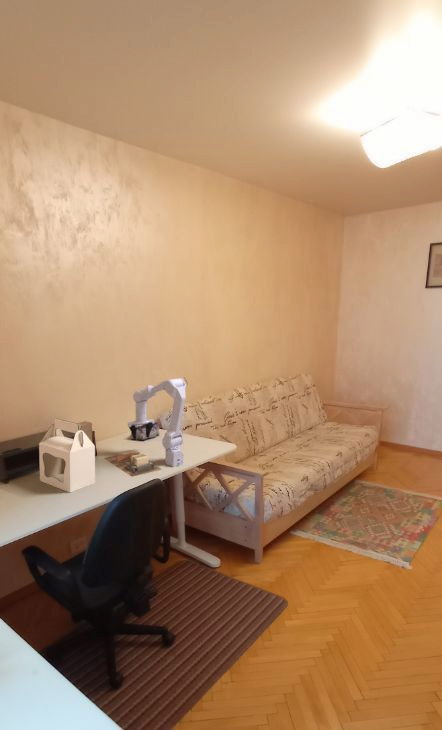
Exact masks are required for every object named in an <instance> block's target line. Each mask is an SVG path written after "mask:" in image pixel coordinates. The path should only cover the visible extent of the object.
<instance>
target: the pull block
mask: <svg viewBox="0 0 442 730" xmlns="http://www.w3.org/2000/svg"><path fill="white" fill-rule="evenodd" d="M130 453H131V454H127V453H125V454H126V455H122V454H120V455H121V456H116V455H115V456H116V460H117V461H122V460H127V459H131V464H132V465H134V466H136V467H140V466H145V465H148V461H149V456H148V455H146V454H144V453H140V452H139V451H136V452H130Z"/></svg>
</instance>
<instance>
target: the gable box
mask: <svg viewBox="0 0 442 730" xmlns="http://www.w3.org/2000/svg"><path fill="white" fill-rule="evenodd" d="M78 423H79V422H72V421H69V420H64V419H61V418H55V419H54V423H53V424H52V423H51V424H50V427H48V430H47V431H46V432H45V434H44V436H43V437H42V439H41V440H40V441H39V443H38V451H39V452H38V454H39V460H38V461H39V482H42V483H45V484H46V485H49V486H51V487H55V488H57V489H59V490H63V491H65V492H67V493H73V492H75V491H79V490H81V489H84V488H87V487H89V486H91V485H94V484H96V446H95V444H94V443H93V441H92V442H91V440H90V439H89V438H88V437H87V435H86V434H85V433H84V432H83V431H82V430H80V429H81V425H78ZM63 431H65V432H67V433H68V432H72V433H75V436H73V438H71V437H67V436H64V434H63Z"/></svg>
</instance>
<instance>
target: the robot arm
mask: <svg viewBox="0 0 442 730" xmlns="http://www.w3.org/2000/svg"><path fill="white" fill-rule="evenodd" d="M186 389H187V383H186V381H185V379H183V378H181V377H178V378H173V379H171V378H170V379H166V380H163V381H162V382H160V383H157V384H156V385H154V386H153V385H149V384H148V385H147V386H146V387H145V388H141V389H140V391H139V390H138V391H134V393H133V395H132V398H133V401H134V402H135V420H134V421H130V422H127V427H128V428H129V430H130V433H131V432H132V436H133V439H132V440H134V441H135V440H136V431H137V428H136V426H142V425H144V424H145V427H146V437H149V435H150V431H151V429H152V427H153V423H155V420H154V419H152V418H151V419H150V418H149V419H147V417H148V416H147V414H148V413H147V404H148V401H149V399H151V398H154V397H155V396H157V393H159V392H162V391H165V392H166V393H167V395H169V396H170V397H171V398H172V400H173V405H172V410H171V416H170V422H169V426H168V429H167V431H166V432H165V433H164V436H163V438H162V439H161V444H162V446H163V448H164V449H165V453H164V456H165V459H164V460H165V461H164V462H165V465H167V466H170V467H171V468H175V467H180V466H184V453H183V451H182V450H181V445H182V444H183V443H184V438H183V437H184V436H183V435H184V433H183V432H182V431H181V426H182V420H183V416H184V409H185V404H186V399H187V397H186V396H187V395H186Z"/></svg>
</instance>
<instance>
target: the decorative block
mask: <svg viewBox="0 0 442 730" xmlns="http://www.w3.org/2000/svg"><path fill="white" fill-rule="evenodd" d="M77 423H78V425H81V429H80V430H82V431H83V432H84V433H85V434H86V435H87V437H88V438H89V439H90V440H91V442H92V443H93V423H92V422H90V421H81V422H77ZM67 435H68V436H72V437H74V436H75V433H72V432H68V431H67Z"/></svg>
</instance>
